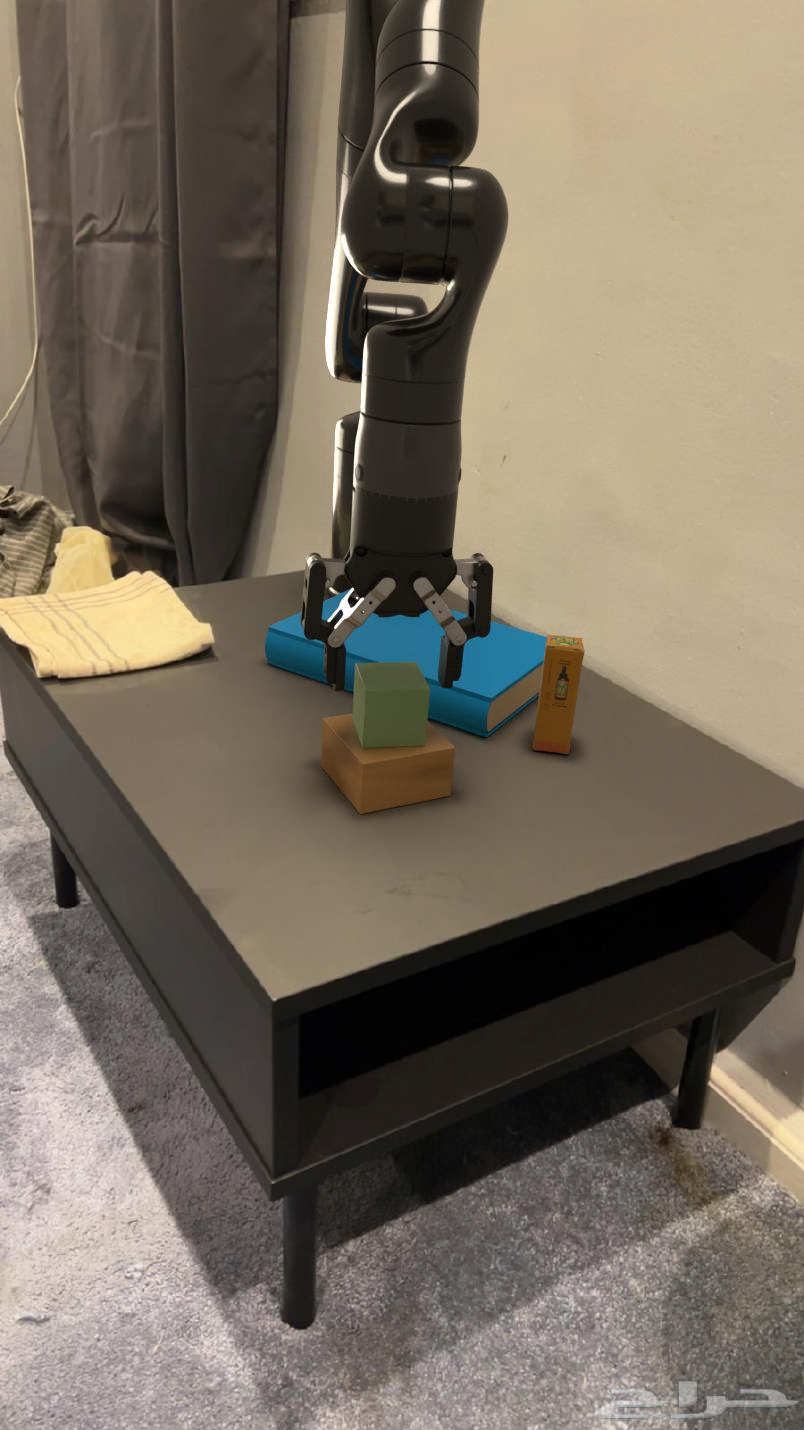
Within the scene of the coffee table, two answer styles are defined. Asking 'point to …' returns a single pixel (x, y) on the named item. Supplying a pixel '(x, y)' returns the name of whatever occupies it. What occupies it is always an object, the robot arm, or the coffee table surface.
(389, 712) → the green block
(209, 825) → the coffee table surface
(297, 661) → the book
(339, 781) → the oak block
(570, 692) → the supplement box
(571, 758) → the coffee table surface
